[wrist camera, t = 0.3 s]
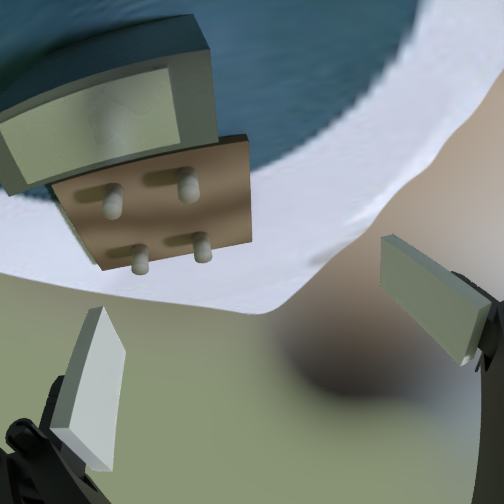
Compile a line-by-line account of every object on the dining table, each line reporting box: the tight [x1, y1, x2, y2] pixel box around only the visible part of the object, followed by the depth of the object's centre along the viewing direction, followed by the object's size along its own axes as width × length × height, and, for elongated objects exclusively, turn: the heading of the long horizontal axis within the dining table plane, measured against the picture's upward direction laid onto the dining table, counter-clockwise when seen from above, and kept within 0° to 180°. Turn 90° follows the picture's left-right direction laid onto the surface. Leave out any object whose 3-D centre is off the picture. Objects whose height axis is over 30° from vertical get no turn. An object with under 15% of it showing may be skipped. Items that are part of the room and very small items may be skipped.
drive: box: [0, 14, 219, 197], centre depth 13 cm, size 4×10×10 cm, turn 92°
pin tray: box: [51, 134, 252, 275], centre depth 26 cm, size 12×16×4 cm
